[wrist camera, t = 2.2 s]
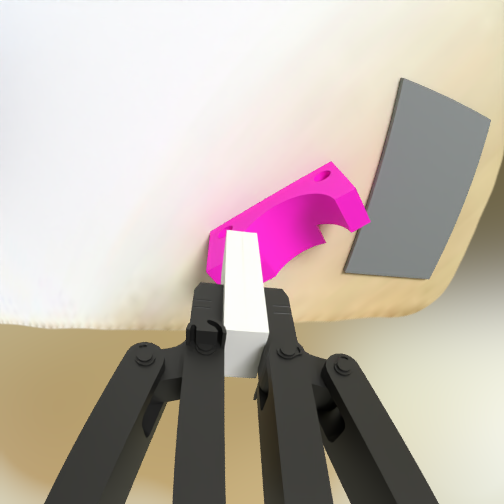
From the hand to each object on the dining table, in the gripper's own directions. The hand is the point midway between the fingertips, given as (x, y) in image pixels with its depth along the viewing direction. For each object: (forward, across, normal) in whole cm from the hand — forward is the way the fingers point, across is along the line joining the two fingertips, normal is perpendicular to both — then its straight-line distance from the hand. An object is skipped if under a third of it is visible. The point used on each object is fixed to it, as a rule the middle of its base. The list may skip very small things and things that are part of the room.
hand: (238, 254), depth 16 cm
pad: (+17, +22, 0) cm, 28 cm away
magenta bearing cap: (+17, +6, -6) cm, 19 cm away
